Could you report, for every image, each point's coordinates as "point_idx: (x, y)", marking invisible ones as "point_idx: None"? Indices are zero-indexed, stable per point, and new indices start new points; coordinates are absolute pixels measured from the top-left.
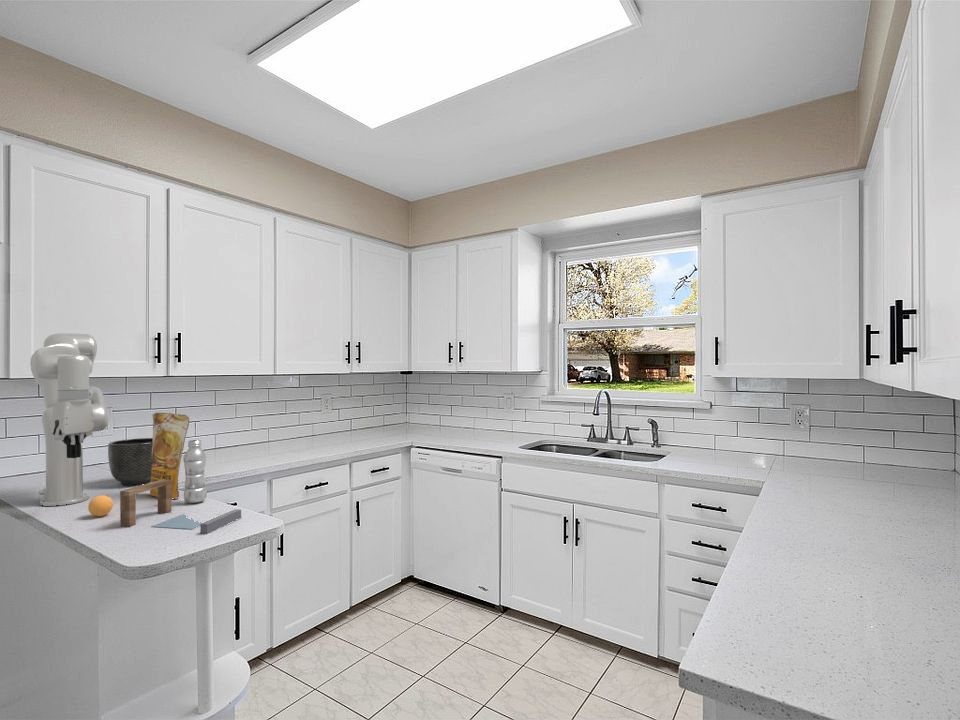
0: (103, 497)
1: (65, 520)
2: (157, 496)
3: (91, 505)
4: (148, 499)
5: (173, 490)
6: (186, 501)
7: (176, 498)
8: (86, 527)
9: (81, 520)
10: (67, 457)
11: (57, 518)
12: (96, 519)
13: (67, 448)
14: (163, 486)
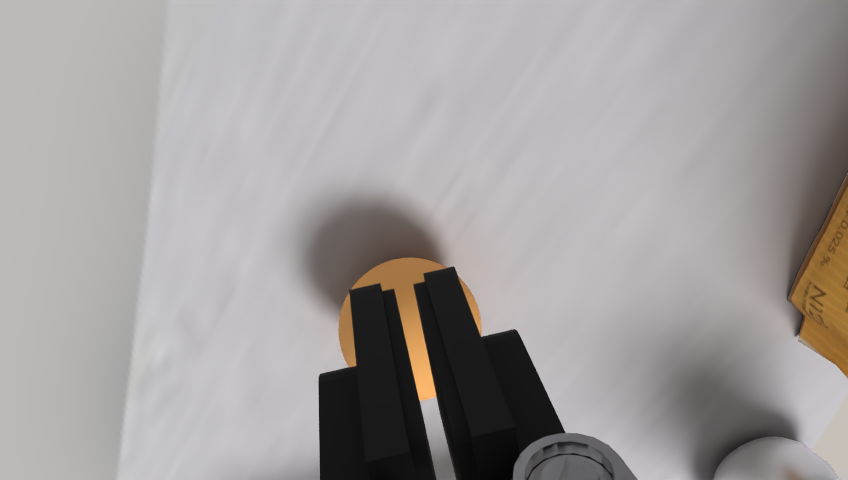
0: None
1: (246, 191)
2: (844, 193)
3: (344, 352)
4: (793, 173)
5: (843, 347)
6: (714, 477)
7: (801, 342)
8: (229, 432)
9: (294, 281)
10: (354, 296)
11: (246, 83)
12: None
13: (324, 478)
14: None
